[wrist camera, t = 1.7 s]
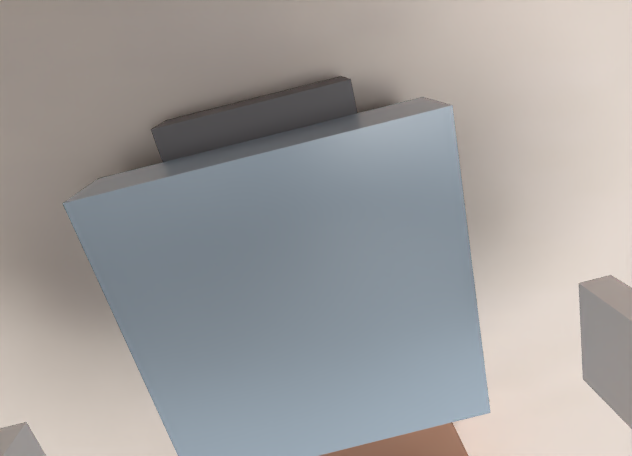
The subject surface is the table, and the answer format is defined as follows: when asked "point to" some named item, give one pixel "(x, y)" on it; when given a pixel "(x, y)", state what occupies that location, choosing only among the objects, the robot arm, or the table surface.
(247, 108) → the block
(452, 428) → the open box
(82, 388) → the table surface
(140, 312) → the blue square slab
